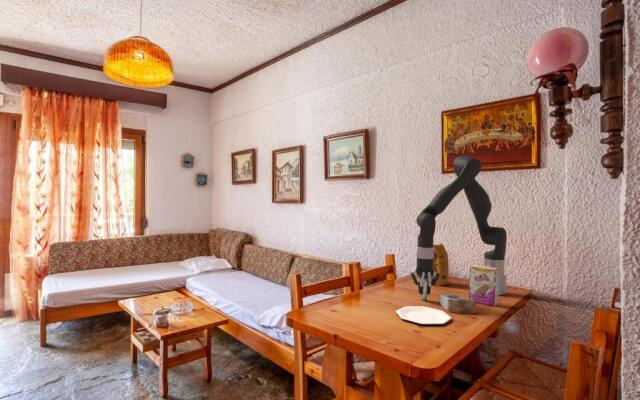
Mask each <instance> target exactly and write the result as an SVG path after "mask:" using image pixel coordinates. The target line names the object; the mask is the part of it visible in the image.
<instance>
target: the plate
mask: <svg viewBox="0 0 640 400" xmlns="http://www.w3.org/2000/svg"><path fill="white" fill-rule="evenodd" d="M395 314H397V315H398V316H399V318H400V319H402V320H403V321H407V322H411V323H415V324H418V325H423V326H425V325H426V326H427V325H429V326H431V325H432V326H433V325H434V326H435V325H437V326H441V325H442V326H443V325H445V324H446V323H448V322H450V321H451V320H452V316H451V315H448V314H447V313H446V312H445V311H443V310H440V309H437V308H432V307H429V306H423V305H422V306H421V305H420V306H416V305H415V306H411V305H410V306H403V307H401V308H399V309H396V310H395Z"/></svg>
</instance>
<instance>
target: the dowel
mask: <svg viewBox="0 0 640 400" xmlns="http://www.w3.org/2000/svg"><path fill="white" fill-rule="evenodd" d="M422 287H423V294H422V295H421V294H420V296H421V298H420V299H421V301H428V295H427V287H428V279H424V281H423V285H422Z"/></svg>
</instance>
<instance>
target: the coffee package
mask: <svg viewBox="0 0 640 400" xmlns="http://www.w3.org/2000/svg"><path fill="white" fill-rule="evenodd" d="M433 250H434V267H433V269H434V272H437V273H439V274H440V276H439V278H438V280H437V282H436V284H435V285H434V286H435V287H442V286H443V285H444V286H445V285H447V284H448V283H449V269H450V268H449V255H448V252H447V250H446V248H445V246H444V244H443V243H442V242H441V243H439V244H433ZM433 275H434V274H433ZM433 275H432V276H431V281H432V279H433V277H434V276H433Z"/></svg>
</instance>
